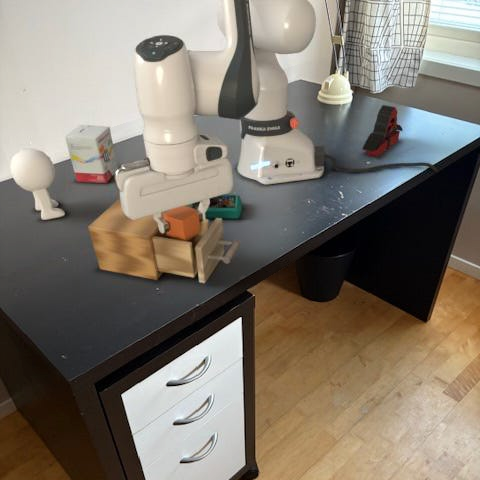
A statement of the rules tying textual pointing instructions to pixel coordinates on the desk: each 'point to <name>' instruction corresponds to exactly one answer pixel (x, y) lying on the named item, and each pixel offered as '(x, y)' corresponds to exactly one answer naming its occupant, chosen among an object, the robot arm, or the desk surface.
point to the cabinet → (125, 243)
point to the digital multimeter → (222, 207)
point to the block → (182, 223)
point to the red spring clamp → (383, 132)
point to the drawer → (194, 251)
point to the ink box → (92, 153)
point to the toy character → (36, 179)
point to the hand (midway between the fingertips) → (182, 225)
